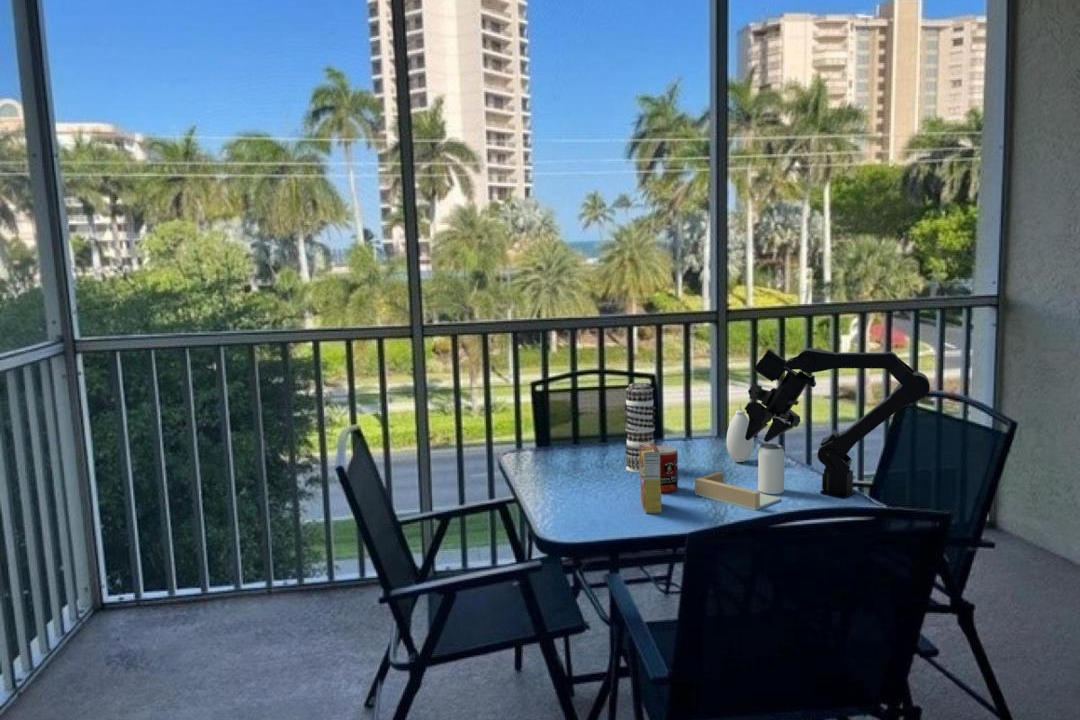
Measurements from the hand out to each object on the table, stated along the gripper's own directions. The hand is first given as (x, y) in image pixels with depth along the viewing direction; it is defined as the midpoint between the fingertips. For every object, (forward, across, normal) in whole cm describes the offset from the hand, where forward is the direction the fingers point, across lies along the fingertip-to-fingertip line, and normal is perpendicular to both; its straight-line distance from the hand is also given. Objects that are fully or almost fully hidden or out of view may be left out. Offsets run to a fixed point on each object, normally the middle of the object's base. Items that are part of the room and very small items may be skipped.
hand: (756, 440), depth 207 cm
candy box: (+21, +30, +2) cm, 36 cm away
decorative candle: (+28, +4, -23) cm, 37 cm away
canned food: (+22, +16, -6) cm, 28 cm away
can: (+8, -1, +11) cm, 14 cm away
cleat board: (+12, +8, +9) cm, 17 cm away
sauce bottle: (+15, -20, -11) cm, 28 cm away
